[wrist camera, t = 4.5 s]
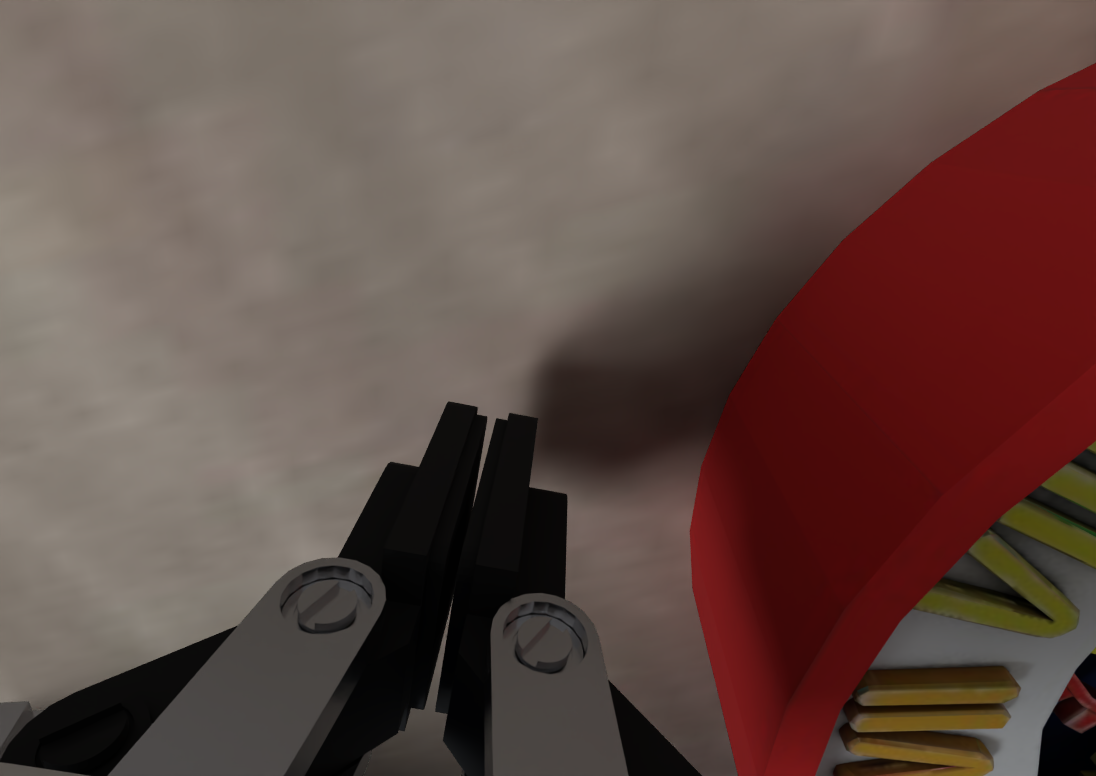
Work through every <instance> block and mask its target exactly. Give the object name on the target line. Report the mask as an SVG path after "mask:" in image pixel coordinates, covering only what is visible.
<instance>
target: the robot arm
mask: <svg viewBox="0 0 1096 776" xmlns="http://www.w3.org/2000/svg"><path fill="white" fill-rule="evenodd" d="M477 410H478V407H475V406H470V405H465V404H459V403H454V402H448V403H447V405H446V407H445V409H444V412H443V414H442V416H441V418H440V421H439V423H438V425H437V427H436V430H435V432H434V434H433V437H432V439H431V441H430V443H429V446H428V448H427V450H426V453H425V455H424V457H423V459H422V462H421V464H420V466H419V467H416V466H411V465H405V464H400V463H394V462H390V463H388V465H387V466H386V468H385V470H384V471H383V473H382V475H381V477H380V479H379V481H378V483H377V485H376V487H375V488H374V490H373V492H372V494H371V496H370V498H369V500H368V502H367V503H366V505H365V507H364V509H363V511H362V513H361V515H360V517H359V519H358V520H357V522H356V524H355V526H354V528H353V530H352V532H351V534H350V536H349V537H348V539H347V541H346V543H345V545H344V547H343V549H342V551H341V552H340V554H339V556H338V558H321V559H317V560H314V561H310V562H306V563H303V564H301V565H299V566H297V567H295V568H293V569H292V570H290V571H288V572H287V573H286V574H285V575H283V576H282V577H281V578H280V579H279V580H278V581H277V582H276V583H275V584H274V585H273V586H272V587H271V588H270V590H269V591H268V592H267V593H266V594H265V595H264V596H263V598H262V599H261V600H260V601H259V602H258V603H257V604H256V606H255V607H254V608H253V609H252V610H251V611H250V613H249V614H248V615H247V616H246V617H245V618H244V619H243V621H242V622H241V623H240V624H239V625H238V626H236V627H233V628H231V629H228V630H226V631H224V632H221V633H219V634H216V635H214V636H211V637H209V638H207V639H204V640H202V641H199V642H197V643H194V644H192V645H189V646H187V647H185V648H182V649H180V650H177V651H175V652H172V653H170V654H168V655H165V656H163V657H160V658H158V659H155V660H153V661H151V662H148V663H146V664H143V665H141V666H138V667H136V668H134V669H131V670H129V671H126V672H124V673H121V674H119V675H117V676H114V677H112V678H109V679H107V680H104V681H102V682H100V683H97V684H95V685H92V686H90V687H87V688H85V689H82V690H80V691H78V692H75V693H73V694H71V695H69V696H68V697H66V698H64V699H62V700H60V701H58V702H56V703H54V704H52V705H50V706H49V707H48V708H46V709H45V710H38V711H32V709H31V706H30V703H29V701H24V702H4V703H0V776H363V775H364V773H365V771H366V769H367V767H368V764H369V760H370V757H371V754H372V749H374V748H375V747H377V746H378V745H380V744H382V743H383V742H385V741H386V740H388V739H389V738H391V737H393V736H394V735H396V734H397V733H398V731H399V730H400V731H405V728H406V724H407V721H408V717H409V713H410V710H411V708H416V709H422V710H424V708H425V705H426V701H427V697H428V693H429V689H430V685H431V682H432V678H433V674H434V670H435V666H436V662H437V658H438V654H439V650H440V646H441V642H442V638H443V634H444V630H445V626H446V622H447V619H448V615H449V611H450V607H451V603H452V609H451V615H450V621H449V627H448V634H447V640H446V646H445V653H444V659H443V665H442V671H441V678H440V684H439V690H438V696H437V703H436V709H435V712H440V713H446V714H448V715H447V720H446V726H445V732H444V738H443V741H444V743H445V744H446V746H447V747H448V749H449V750H450V751H451V753H452V754H453V756H454V757H455V759H456V760H457V762H458V763H459V765H460V766H461V767H462V774H461V776H702V775H701V774H700V773H699V772H698V771H697V770H696V769H695V768H694V767H693V766H692V765H691V764H690V763H689V762H688V761H687V760H686V759H685V758H684V757H683V756H682V755H681V754H680V753H679V752H678V751H677V750H676V749H675V748H674V747H673V746H672V745H671V743H670V742H669V741H668V740H667V739H666V738H665V737H664V736H663V735H662V734H661V733H660V732H659V731H658V730H657V729H656V728H655V727H654V726H653V725H652V724H651V723H650V722H649V721H648V720H647V719H646V718H645V717H644V716H643V715H642V714H641V713H640V712H639V711H638V710H637V709H636V708H635V707H634V706H633V705H632V704H631V703H630V702H629V701H628V699H627V698H626V697H625V696H624V695H623V694H622V693H621V692H620V691H619V690H618V689H617V688H616V687H615V686H614V685H613V684H612V683H611V682H610V681H609V680H608V677H607V673H606V668H605V663H604V659H603V654H602V649H601V644H600V640H599V636H598V634H597V631H596V629H595V626H594V624H593V623H592V621H591V620H590V619H589V618H588V616H587V615H586V614H585V612H583V611H582V610H581V609H580V608H578V607H577V606H576V605H574V604H573V603H572V602H570V601H567V600H565V575H566V536H567V494H563V493H558V492H552V491H547V490H542V489H536V488H531V487H529V484H530V476H531V468H532V460H533V452H534V444H535V437H536V429H537V421H538V418H534V417H528V416H523V415H518V414H513V413H509V416H508V420H503V419H498V418H496V422H495V425H494V429H493V433H492V437H491V441H490V445H489V448H488V452H487V456H486V460H485V464H484V468H483V471H482V475H481V479H480V483H479V487H478V491H477V494H476V498H475V502H474V497H475V491H476V485H477V479H478V473H479V467H480V460H481V454H482V448H483V442H484V436H485V430H486V424H487V416H482V415H477ZM473 503H474V506H473ZM472 509H473V510H472ZM453 595H454V596H453ZM452 599H453V602H452Z"/></svg>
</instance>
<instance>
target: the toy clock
mask: <svg viewBox="0 0 1096 776" xmlns="http://www.w3.org/2000/svg"><path fill="white" fill-rule="evenodd" d="M690 544H691V566H692V588H693V592H694V596H695V601H696V605H697V609H698V613H699V617H700V621H701V625H702V629H703V633H704V637H705V641H706V646H707V650H708V654H709V658H710V662H711V666H712V670H713V674H714V678H715V682H716V687H717V691H718V695H719V699H720V703H721V707H722V711H723V715H724V719H725V723H726V728H727V732H728V736H729V740H730V744H731V748H732V752H733V756H734V760H735V764H736V768H737V773H738V776H1096V63H1095V64H1093V65H1091V66H1089V67H1087V68H1085V69H1083V70H1081V71H1079V72H1077V73H1074V74H1072V75H1070V76H1068V77H1066V78H1064V79H1062V80H1060V81H1058V82H1056V83H1054V84H1052V85H1050V86H1048V87H1046V88H1044V89H1042V90H1039V91H1038V92H1036V93H1035V94H1033V95H1032V96H1030V97H1029V98H1027V99H1026V100H1024V101H1023V102H1021V103H1020V104H1018V105H1017V106H1015V107H1014V108H1012V109H1011V110H1009V111H1008V112H1006V113H1005V114H1003V115H1002V116H1000V117H999V118H997V119H996V120H994V121H993V122H991V123H990V124H988V125H987V126H985V127H984V128H982V129H981V130H979V131H978V132H976V133H975V134H973V135H972V136H970V137H969V138H967V139H966V140H964V141H963V142H961V143H960V144H958V145H957V146H955V147H954V148H952V149H951V150H949V151H948V152H946V153H945V154H943V155H942V156H940V157H939V158H937V159H936V160H934V161H933V162H931V163H930V164H929V165H928V166H927V167H925V168H924V169H923V170H922V171H921V172H920V173H919V174H917V175H916V176H915V177H914V178H913V179H912V180H911V181H910V182H908V183H907V184H906V185H905V186H904V187H903V188H902V189H900V190H899V191H898V192H897V193H896V194H895V195H894V196H892V197H891V198H890V199H889V200H888V201H887V202H886V203H885V204H883V205H882V206H881V207H880V208H879V209H878V210H877V211H875V212H874V213H873V214H872V215H871V216H870V217H869V218H867V219H866V220H865V221H864V222H863V223H862V224H861V225H860V226H858V227H857V228H856V229H855V230H854V231H853V232H852V233H850V234H849V235H848V236H847V237H846V238H845V239H844V240H843V241H842V242H841V243H840V244H839V245H838V246H837V248H836V249H835V250H834V251H833V252H832V254H831V255H830V256H829V257H828V258H827V259H826V261H825V262H824V263H823V264H822V265H821V266H820V268H819V269H818V270H817V271H816V272H815V273H814V275H813V276H812V277H811V278H810V279H809V280H808V282H807V283H806V284H805V285H804V286H803V288H802V289H801V290H800V291H799V292H798V293H797V295H796V296H795V297H794V298H793V299H792V300H791V302H790V303H789V304H788V305H787V306H786V307H785V309H784V310H783V311H782V312H781V313H780V315H779V316H778V317H777V318H776V319H775V321H774V323H773V324H772V326H771V328H770V329H769V331H768V332H767V334H766V336H765V337H764V339H763V341H762V342H761V344H760V345H759V347H758V349H757V350H756V352H755V354H754V355H753V357H752V359H751V360H750V362H749V363H748V365H747V367H746V368H745V370H744V372H743V373H742V375H741V377H740V378H739V380H738V381H737V383H736V385H735V386H734V388H733V390H732V391H731V393H730V395H729V397H728V399H727V402H726V404H725V407H724V410H723V412H722V415H721V417H720V420H719V422H718V425H717V427H716V430H715V433H714V435H713V438H712V440H711V443H710V445H709V448H708V450H707V453H706V455H705V458H704V461H703V463H702V466H701V471H700V477H699V482H698V488H697V493H696V499H695V505H694V510H693V516H692V522H691V527H690Z"/></svg>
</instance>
